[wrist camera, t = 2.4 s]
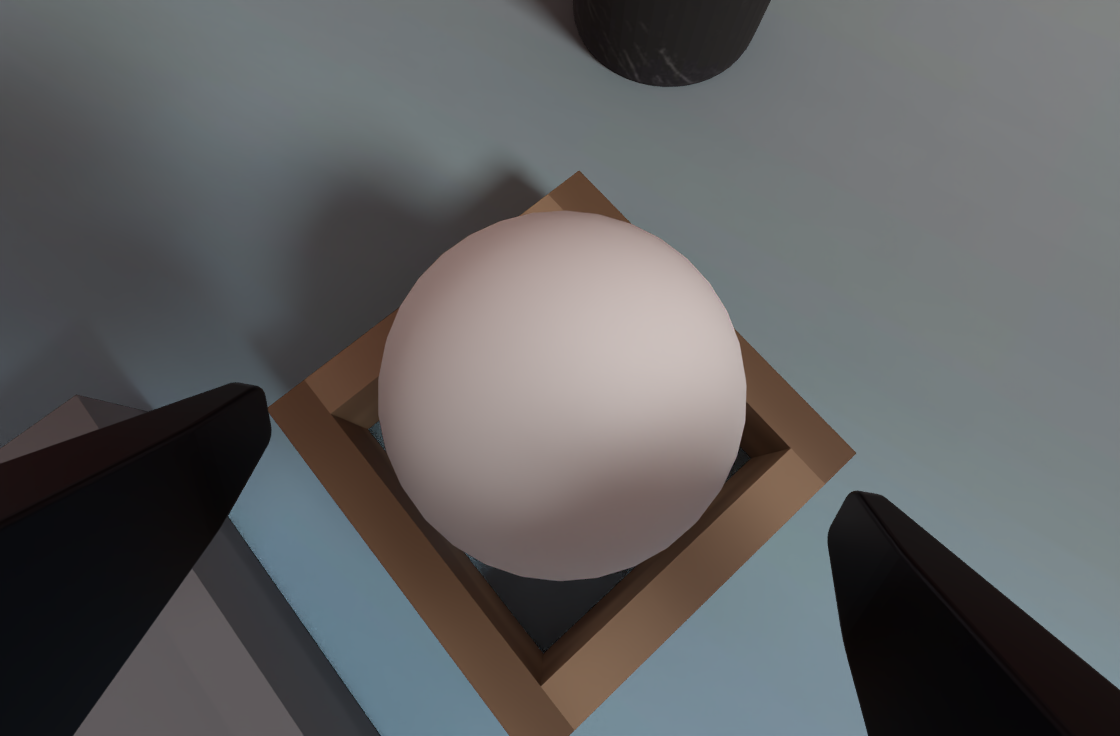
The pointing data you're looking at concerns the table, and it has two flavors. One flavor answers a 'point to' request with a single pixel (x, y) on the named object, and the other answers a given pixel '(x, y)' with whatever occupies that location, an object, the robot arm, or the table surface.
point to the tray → (211, 639)
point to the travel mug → (668, 36)
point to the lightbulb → (562, 395)
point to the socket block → (622, 614)
